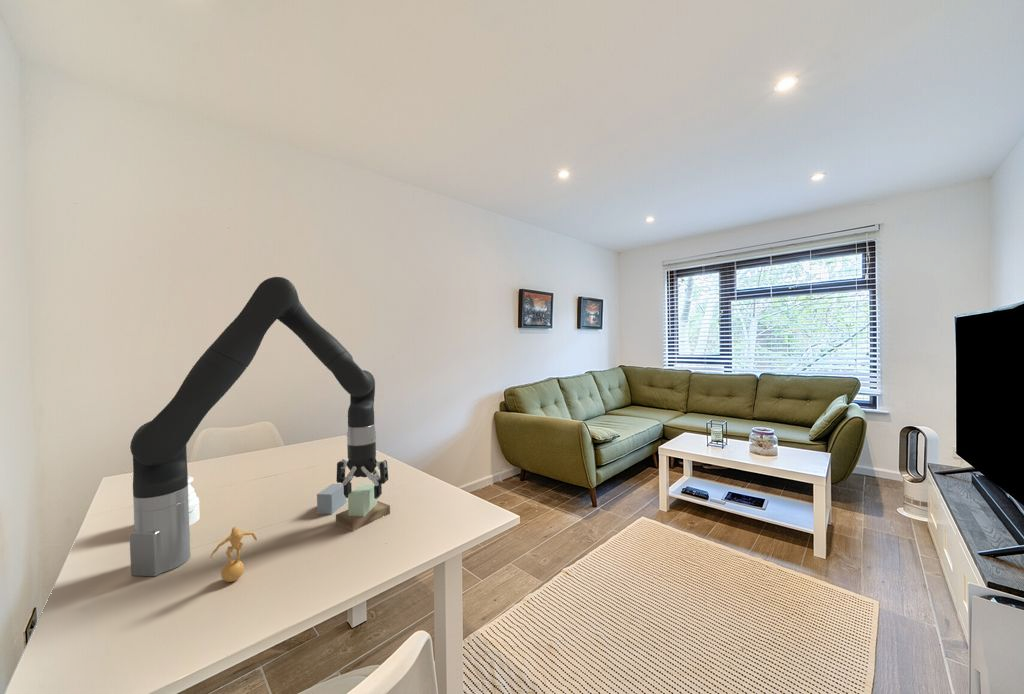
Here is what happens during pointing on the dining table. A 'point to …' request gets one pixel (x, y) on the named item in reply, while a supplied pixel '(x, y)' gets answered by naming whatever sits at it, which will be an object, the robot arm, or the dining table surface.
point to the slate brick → (330, 499)
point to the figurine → (233, 567)
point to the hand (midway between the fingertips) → (362, 497)
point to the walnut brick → (358, 522)
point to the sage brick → (361, 500)
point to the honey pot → (193, 503)
